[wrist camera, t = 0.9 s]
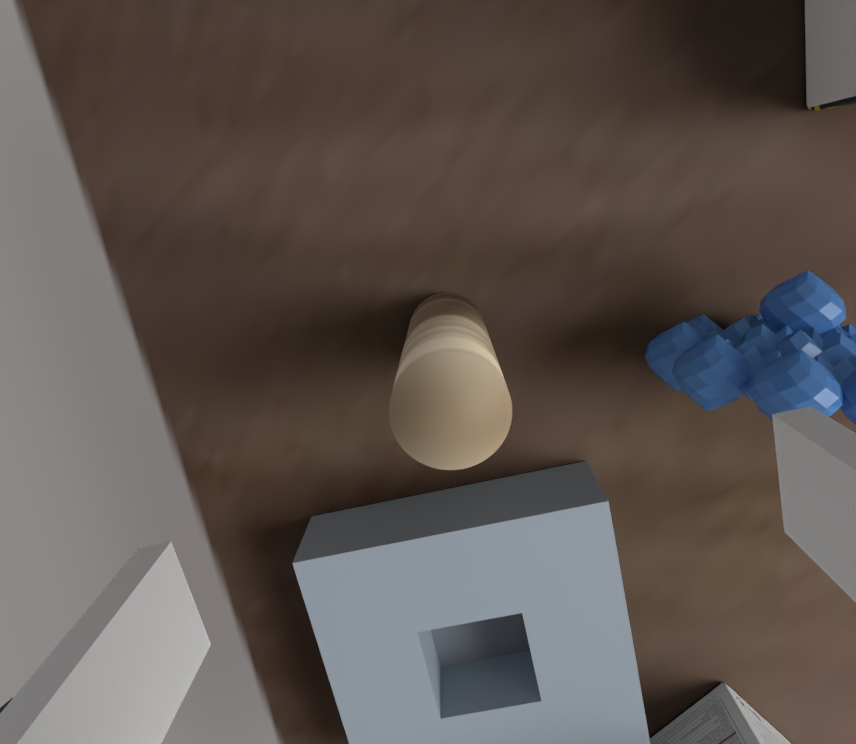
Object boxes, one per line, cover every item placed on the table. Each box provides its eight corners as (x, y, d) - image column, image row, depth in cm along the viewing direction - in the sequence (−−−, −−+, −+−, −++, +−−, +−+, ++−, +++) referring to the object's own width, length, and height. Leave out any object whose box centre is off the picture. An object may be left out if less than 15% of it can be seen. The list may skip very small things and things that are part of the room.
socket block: (311, 516, 37) (292, 563, 33) (586, 460, 36) (608, 500, 31) (378, 739, 41) (370, 810, 37) (628, 695, 40) (653, 763, 35)
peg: (401, 301, 34) (375, 367, 21) (475, 284, 34) (498, 340, 20) (418, 373, 35) (404, 480, 22) (490, 357, 35) (522, 456, 21)
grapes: (860, 260, 33) (1086, 292, 22) (836, 387, 35) (1034, 479, 23) (632, 256, 33) (734, 285, 22) (620, 382, 35) (709, 472, 23)
